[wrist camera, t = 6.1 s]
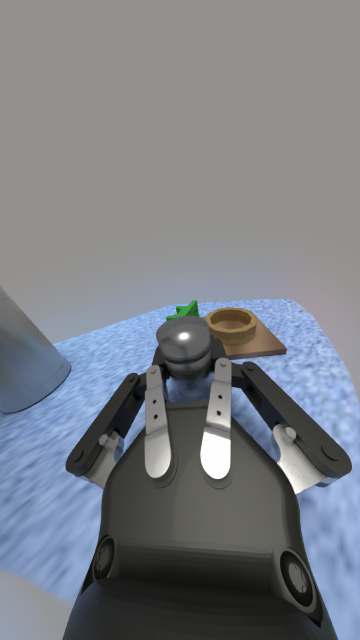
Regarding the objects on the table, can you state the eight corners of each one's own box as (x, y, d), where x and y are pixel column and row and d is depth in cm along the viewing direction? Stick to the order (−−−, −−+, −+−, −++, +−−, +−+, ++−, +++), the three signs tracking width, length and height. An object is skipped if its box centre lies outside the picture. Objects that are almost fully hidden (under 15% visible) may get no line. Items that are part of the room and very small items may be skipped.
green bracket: (185, 316, 34) (182, 300, 32) (199, 317, 32) (196, 300, 30) (163, 344, 26) (157, 325, 23) (180, 347, 24) (175, 327, 22)
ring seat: (200, 362, 20) (198, 345, 18) (195, 322, 30) (193, 308, 29) (285, 353, 18) (291, 334, 17) (249, 314, 29) (250, 299, 27)
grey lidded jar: (177, 419, 14) (149, 351, 9) (179, 380, 18) (160, 319, 13) (220, 416, 13) (215, 343, 9) (212, 377, 17) (205, 312, 13)
